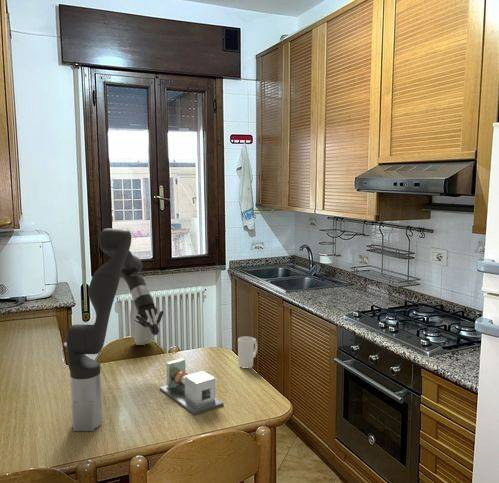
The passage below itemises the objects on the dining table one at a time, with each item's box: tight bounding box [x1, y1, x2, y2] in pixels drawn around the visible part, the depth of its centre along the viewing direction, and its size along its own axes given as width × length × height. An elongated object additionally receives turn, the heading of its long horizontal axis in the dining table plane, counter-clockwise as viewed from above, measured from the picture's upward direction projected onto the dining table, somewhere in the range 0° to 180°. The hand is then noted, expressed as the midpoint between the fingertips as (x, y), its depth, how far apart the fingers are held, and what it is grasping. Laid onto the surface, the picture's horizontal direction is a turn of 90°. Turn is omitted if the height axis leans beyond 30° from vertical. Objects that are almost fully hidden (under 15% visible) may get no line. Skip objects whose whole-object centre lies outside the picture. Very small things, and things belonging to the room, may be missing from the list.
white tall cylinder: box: [129, 300, 153, 346], centre depth 228 cm, size 10×10×28 cm
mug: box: [237, 336, 258, 369], centre depth 205 cm, size 10×7×12 cm, turn 132°
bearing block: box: [159, 370, 225, 416], centre depth 175 cm, size 25×12×10 cm, turn 38°
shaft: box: [166, 358, 188, 387], centre depth 178 cm, size 15×7×9 cm, turn 38°
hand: (156, 334), depth 194 cm, fingers closed
